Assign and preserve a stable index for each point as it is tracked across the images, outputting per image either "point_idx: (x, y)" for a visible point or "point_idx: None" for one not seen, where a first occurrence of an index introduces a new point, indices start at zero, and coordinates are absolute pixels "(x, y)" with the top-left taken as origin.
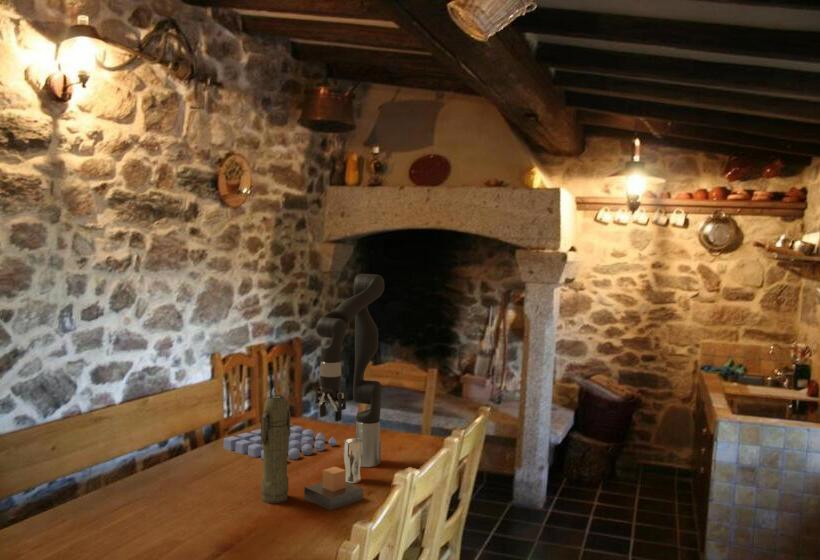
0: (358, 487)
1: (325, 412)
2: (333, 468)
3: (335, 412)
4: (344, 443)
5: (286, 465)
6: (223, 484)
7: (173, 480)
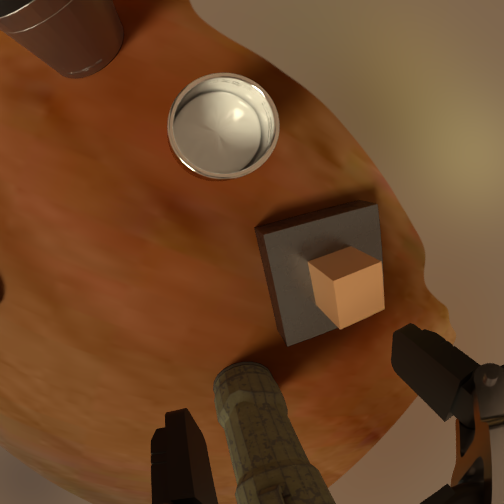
0: (367, 211)
1: (189, 434)
2: (346, 293)
3: (444, 410)
4: (211, 178)
5: (286, 426)
6: (116, 436)
7: (83, 472)
